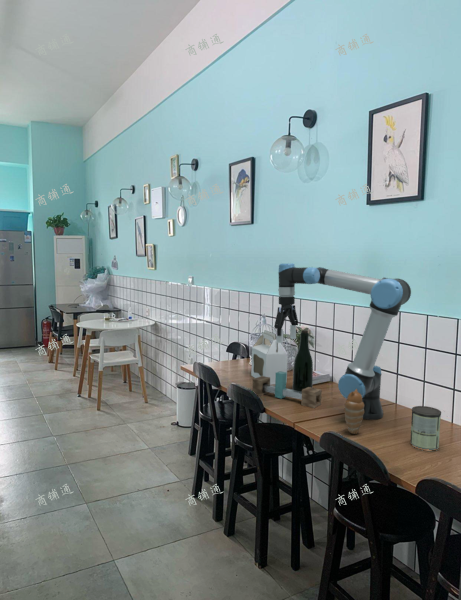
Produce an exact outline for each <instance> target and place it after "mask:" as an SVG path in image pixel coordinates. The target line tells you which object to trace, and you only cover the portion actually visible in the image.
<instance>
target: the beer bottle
mask: <svg viewBox="0 0 461 600" xmlns="http://www.w3.org/2000/svg"><path fill="white" fill-rule="evenodd" d="M309 334H310V333H309V330H306V329H302V330H301V332H300V334H299V335H300V338H299V347H298V350H297V352H296V355H295V357H294V361H293V370H292V371H293V372H292V390H296V391H301V392H302V390H303V389H305V388H307V387H312V388H313V381H314V380H313V379H314V375H313V374H314V364H313V362H314V361H313V357H312V354H311V351H310V348H309V347H310V346H309V336H310V335H309Z"/></svg>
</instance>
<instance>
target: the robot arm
mask: <svg viewBox="0 0 461 600" xmlns="http://www.w3.org/2000/svg"><path fill="white" fill-rule="evenodd" d="M277 273H278V296H279V297H278V304H279V305H281V306H278V307H277V312H276V317H275V321H274V329H276V340H277V343H281V344H283V343H284V329H283V327H284V323H285V321H286V318H288V320H289V323H290V326H289V328H290V329H289V333H290V335H289V338H290V339H291V340H292V339H294V340H296V339H297V326H298V325H299V320H298V315H297V311H296V305H295V301H296V299H295V298H296V297H295V294H296V291H295V285H296V284H297V285H298V284H299V285H300V284H301V285H315V284H319V285H324V286H329V287H334V288H339V289H343V290H347V291H352V292H357V293H362V294H367V295H370V298H371V301H370V303H369V308H370V310H371V312H370V315H369V317H368V320H367V322H366V326H365V328H364V331H363V334H362V337H361V339H360V342H359V345H358V347H357V350H356V353H355V356H354V358H353V361H352V362H350V363H348V364H347V367H346V370H345V373H344V374H343V375H341V377H340V378H339V380H338V382H337V384H338V385H337V387H338V390H339V392H340V394H341V395H342V397H343V398H345V399H346V400H347V398H348V395H349V394H350V393H351V392H352V391H353V392H354V391H355V390H356V389H357V390H358V392H359V393H360V394H361V395H362V402H363V403H364V414H363V419H362V420H371V421H373V420H375V421H376V420H380V419H382V418H383V416H384V410H383V407H382V403H381V398H380V397H381V386H382V385H381V383H382V368H381V367H380V366H378V365H376V362H377V359H378V356H379V354H380V351H381V349H382V346H383V343H384V341H385V338H386V335H387V333H388V330H389V327H390V324H391V322H392V319H393V318H395V317H397V316H398V314H399V312H400V309H401V307H402V305H404V304H406V303H407V302H409V300H410V298H411V296H412V288H411V286H410V284H409V283H408V282H407V281H406V280H405V279H402V278H390V277H389V278H388V277H382V278H376V277H371V276H366V275H360V274H355V273H349V272H346V271H345V272H344V271H339V270H333V269H330V268H328V269H327V268H326V267H321V266H320V267H313V266H311V267H310V266H308V267H304V266H303V267H296V265H295V263H291V262H290V263H289V262H288V263H279V265H278V272H277Z"/></svg>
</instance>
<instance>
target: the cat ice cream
mask: <svg viewBox="0 0 461 600" xmlns="http://www.w3.org/2000/svg"><path fill="white" fill-rule="evenodd" d="M343 412H344V420H345V425H346V427H347V430H348V432H349V433H350V434H352V435H356V434H358V433H359V432H360V427H361V426H362V421H363V420H364V419H363V414H364V403H363V402H362V395H361V394H360V393H359V392H358V390H357V389H356V390H355V391H354V392H353V391H352V392H351V393H350V394H349V395H348V398H347V399H346V400H345V402H344V409H343Z"/></svg>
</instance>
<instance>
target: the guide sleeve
mask: <svg viewBox="0 0 461 600" xmlns="http://www.w3.org/2000/svg"><path fill="white" fill-rule="evenodd" d="M322 391H323V390H322V389H321V388H316V387H313V386H312V387H307V388H305V389H303V390H302V400H301V404H300V405H301V406H304V407H309V408H312V409H315V408H318V407H320V406H321V405H322Z"/></svg>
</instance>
